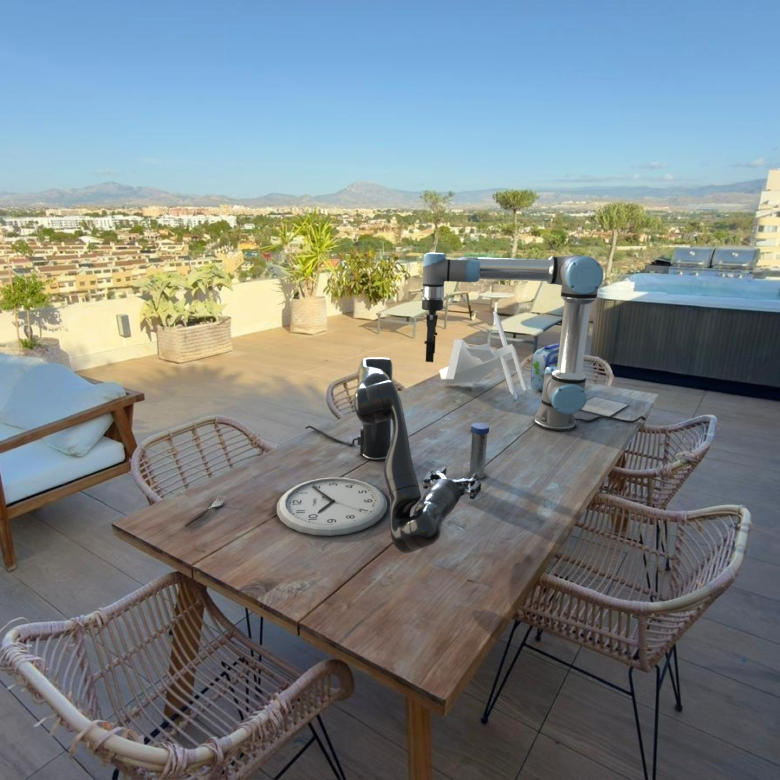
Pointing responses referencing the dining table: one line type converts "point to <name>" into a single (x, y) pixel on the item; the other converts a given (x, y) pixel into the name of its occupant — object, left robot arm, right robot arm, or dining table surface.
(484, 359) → the white plastic object
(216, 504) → the fork
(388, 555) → the dining table surface
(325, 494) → the wall clock
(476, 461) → the jar
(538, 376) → the lunch box
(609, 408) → the invitation card
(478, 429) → the lid
